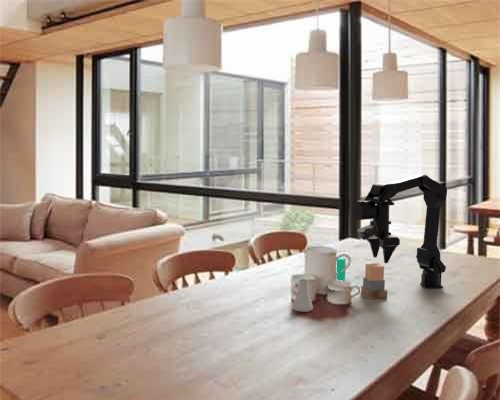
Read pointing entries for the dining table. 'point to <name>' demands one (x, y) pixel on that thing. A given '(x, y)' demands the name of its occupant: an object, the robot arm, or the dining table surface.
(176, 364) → the dining table surface
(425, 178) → the robot arm
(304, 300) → the flask
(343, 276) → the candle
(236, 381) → the dining table surface
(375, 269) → the terracotta cube
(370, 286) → the tower middle
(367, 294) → the tower base
